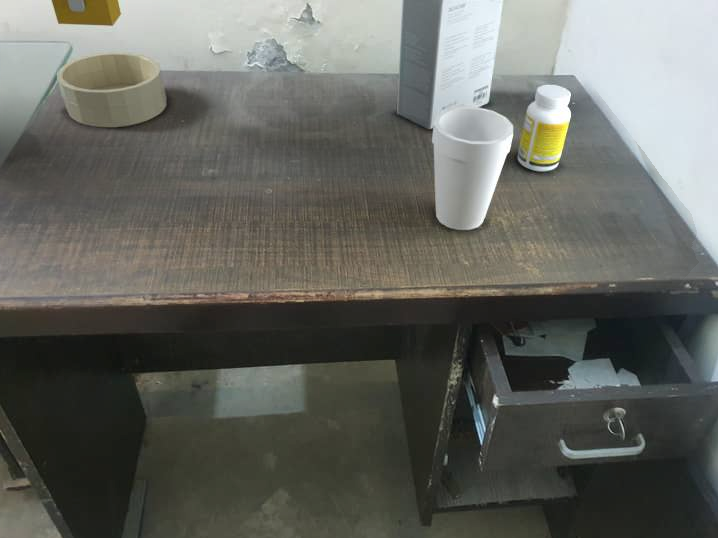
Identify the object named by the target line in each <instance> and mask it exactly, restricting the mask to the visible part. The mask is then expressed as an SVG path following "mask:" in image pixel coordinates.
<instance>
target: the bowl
mask: <svg viewBox="0 0 718 538" xmlns="http://www.w3.org/2000/svg"><path fill="white" fill-rule="evenodd" d="M56 80H57V84H58V86H59V90H60V93H61V96H62V99H63V103H64V105H65V109H66V111H67V113H68V115H69V117H70V118H71V119H73V120H74V121H76V122H77V123H79V124H82V125H86V126H91V127H97V128H119V127H128V126H132V125H133V126H134V125H137V124H141V123H144V122H147V121H149V120H152V119H153V118H155V117H157V116H158V115H160V114H161V113H163V111H164V110H166V109H165V108H166V107H167V104H168V103H167V94H166V89H165V85H164V79H163V75H162V69H161V65H160V64H159V63H158V62H157V61H156V60H155V59H153V58H152V57H149V56H146V55H143V54H139V53H132V52H115V51H114V52H101V53H95V54H90V55H85V56H82V57H78V58H76V59H73V60H71V61H69V62H67V63H65V64H63V66H61V67H60V68H59V69H58V71H57V72H56Z"/></svg>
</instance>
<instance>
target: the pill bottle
mask: <svg viewBox="0 0 718 538" xmlns="http://www.w3.org/2000/svg"><path fill="white" fill-rule="evenodd" d="M571 94H572V93H571V92H570V90H568V89H567V88H566V87H563V86H560V85H557V84H541V85H539V86H538V87H537V88H536V91H535V96H534V101H532V102H531V103H529V105H528V107H527V109H526V113H525V118H524V123H523V128H522V133H521V138H520V142H519V147H518V153H517V161H518V162H519V164H520V165H521V166H522V167H524V168H526V169H529V170H531V171H534V172H548V171H552V170H555V169H556V168H557V167H558V165H559V163H560V160H561V157H562V152H563V149H564V145H565V141H566V136H567V133H568V128H569V125H570V120H571V116H572V113H571V110H570V108H569V107H568V105H569V103H570V99H571Z"/></svg>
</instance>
